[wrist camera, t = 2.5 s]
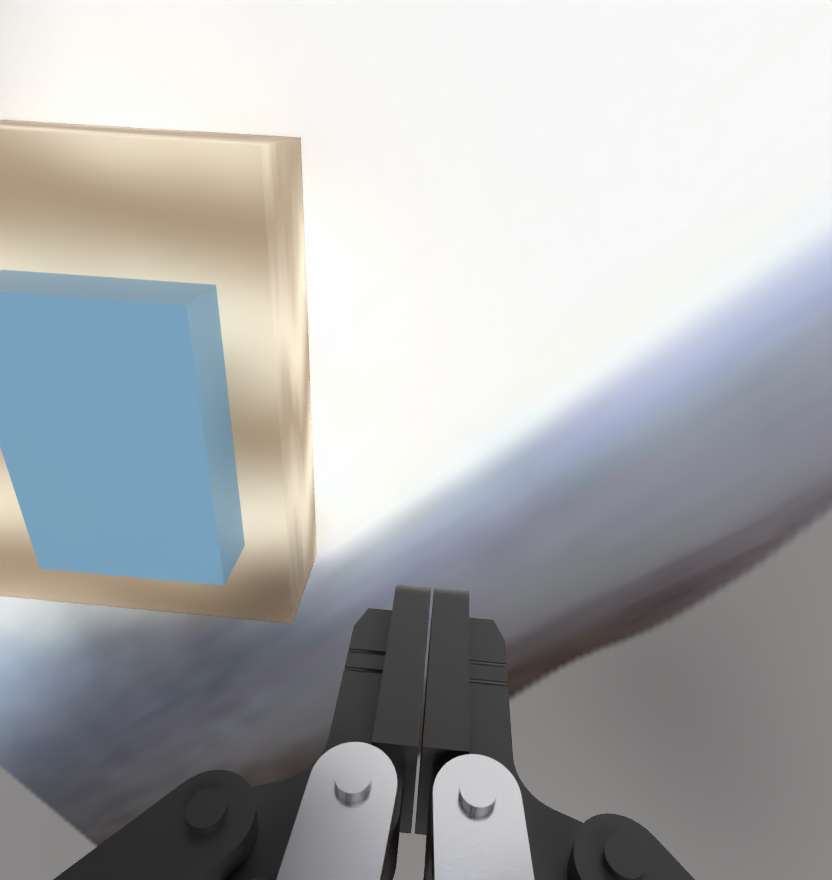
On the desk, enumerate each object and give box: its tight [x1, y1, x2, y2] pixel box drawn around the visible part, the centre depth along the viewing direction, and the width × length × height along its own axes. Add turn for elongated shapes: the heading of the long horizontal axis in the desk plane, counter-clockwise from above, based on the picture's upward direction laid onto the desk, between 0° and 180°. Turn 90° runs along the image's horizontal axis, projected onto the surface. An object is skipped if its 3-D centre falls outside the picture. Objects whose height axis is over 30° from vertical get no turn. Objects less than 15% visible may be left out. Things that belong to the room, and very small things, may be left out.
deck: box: [0, 120, 316, 623], centre depth 21 cm, size 16×16×4 cm
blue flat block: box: [0, 270, 245, 586], centre depth 18 cm, size 9×6×2 cm, turn 177°
